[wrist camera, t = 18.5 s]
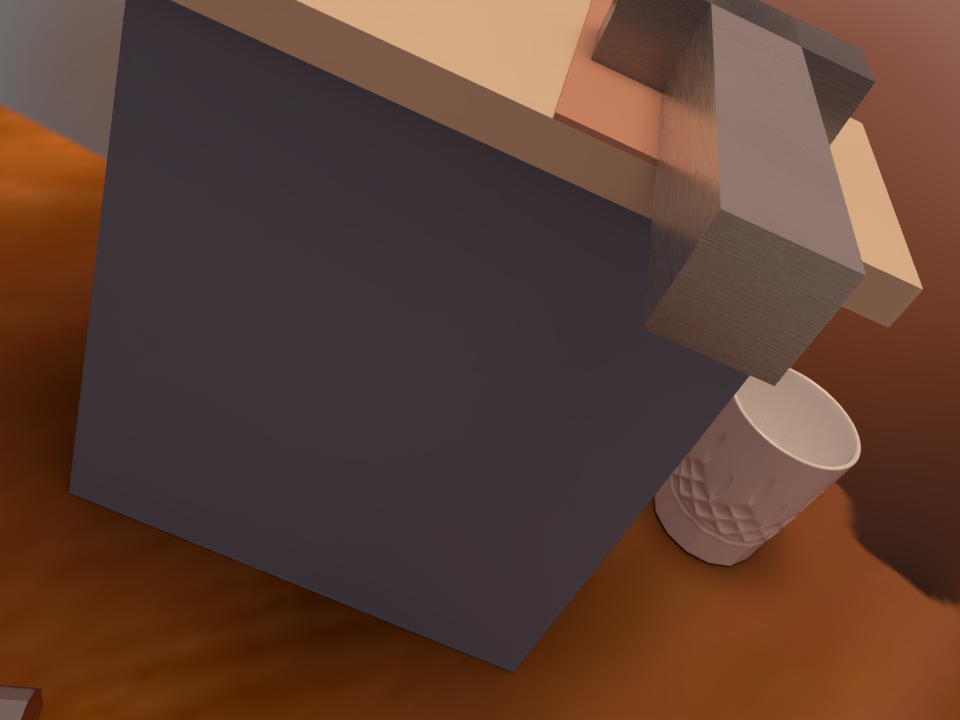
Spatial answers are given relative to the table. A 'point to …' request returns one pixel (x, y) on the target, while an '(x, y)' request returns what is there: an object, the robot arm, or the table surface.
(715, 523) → the white cup
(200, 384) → the wood-topped grey cube
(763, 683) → the table surface
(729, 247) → the steel T-bar
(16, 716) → the robot arm
